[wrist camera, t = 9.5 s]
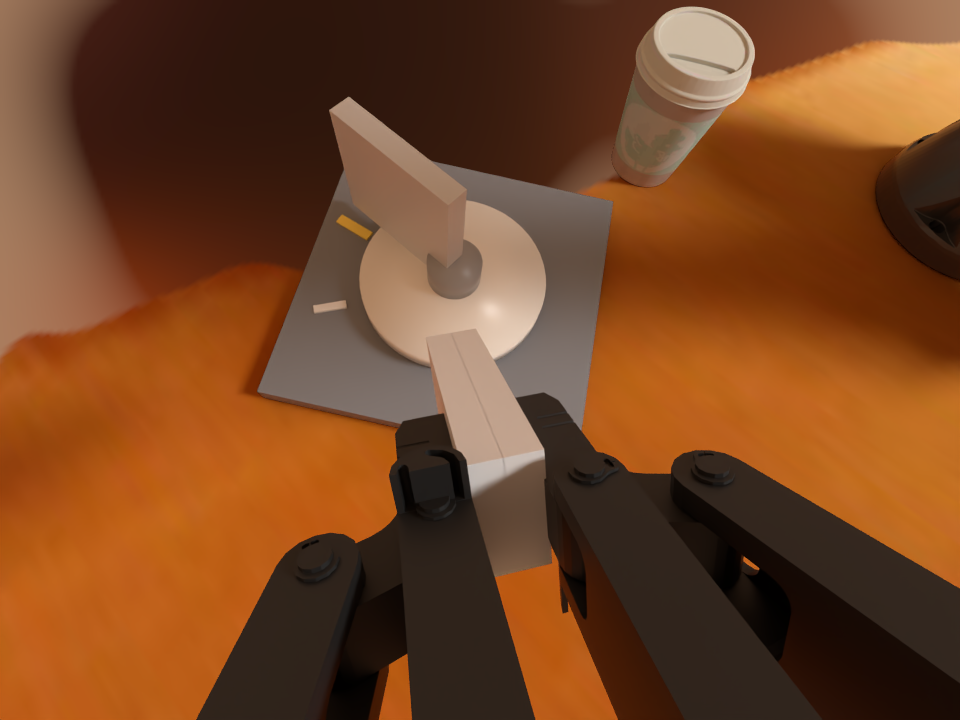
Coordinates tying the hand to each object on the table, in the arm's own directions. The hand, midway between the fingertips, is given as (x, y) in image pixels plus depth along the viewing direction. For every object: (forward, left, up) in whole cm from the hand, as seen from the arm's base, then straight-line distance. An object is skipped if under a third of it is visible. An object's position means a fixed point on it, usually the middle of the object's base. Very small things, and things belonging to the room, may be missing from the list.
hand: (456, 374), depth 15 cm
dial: (+4, -15, -20) cm, 25 cm away
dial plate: (+3, -14, -22) cm, 26 cm away
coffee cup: (-11, -32, -22) cm, 41 cm away
